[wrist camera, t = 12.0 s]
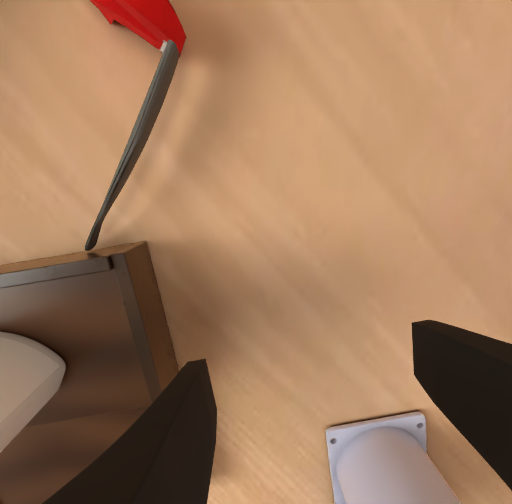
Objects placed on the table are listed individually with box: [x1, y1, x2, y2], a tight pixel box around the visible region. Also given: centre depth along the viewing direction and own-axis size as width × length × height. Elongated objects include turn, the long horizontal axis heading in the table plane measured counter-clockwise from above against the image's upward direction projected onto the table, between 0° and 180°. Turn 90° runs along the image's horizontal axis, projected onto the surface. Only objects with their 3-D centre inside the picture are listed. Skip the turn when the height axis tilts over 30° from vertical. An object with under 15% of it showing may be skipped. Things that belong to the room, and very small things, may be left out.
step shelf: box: [0, 241, 179, 504], centre depth 19 cm, size 20×16×4 cm
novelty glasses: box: [85, 0, 186, 251], centre depth 14 cm, size 14×15×5 cm
